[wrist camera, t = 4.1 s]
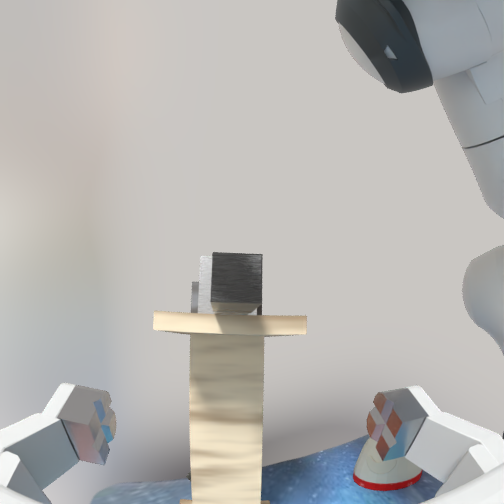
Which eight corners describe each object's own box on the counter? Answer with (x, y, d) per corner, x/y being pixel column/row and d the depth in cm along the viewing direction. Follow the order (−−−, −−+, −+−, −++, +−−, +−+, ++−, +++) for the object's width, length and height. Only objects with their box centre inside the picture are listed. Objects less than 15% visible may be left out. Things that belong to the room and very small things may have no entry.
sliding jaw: (303, 304, 16) (298, 167, 18) (167, 300, 15) (181, 161, 18) (252, 325, 41) (253, 267, 44) (200, 323, 41) (202, 265, 43)
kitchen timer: (410, 494, 35) (421, 417, 39) (340, 485, 44) (346, 414, 48) (427, 464, 44) (435, 399, 48) (369, 460, 53) (374, 399, 57)
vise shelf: (299, 590, 16) (316, 243, 26) (162, 590, 15) (148, 236, 25) (267, 501, 39) (271, 289, 49) (182, 500, 38) (181, 285, 48)
